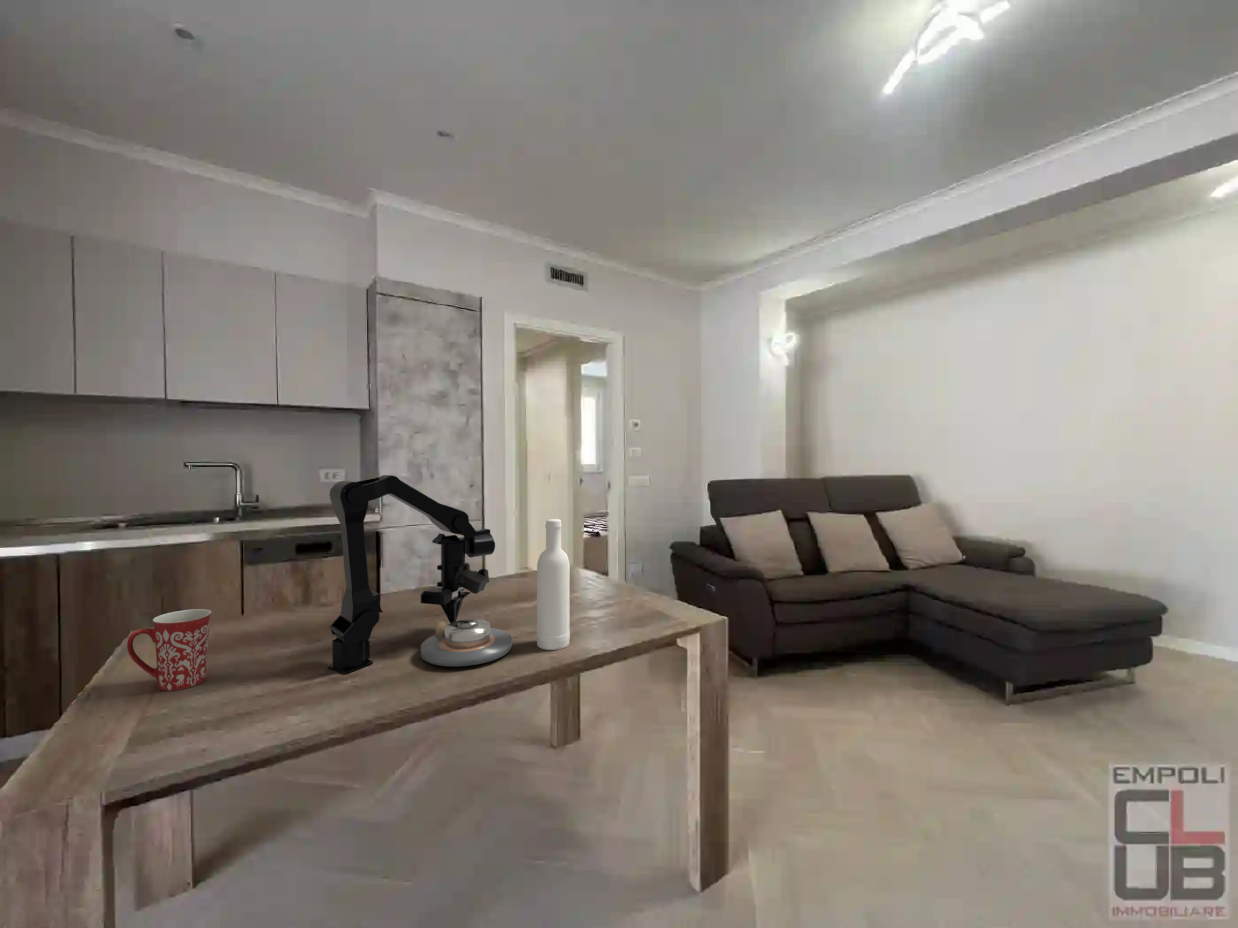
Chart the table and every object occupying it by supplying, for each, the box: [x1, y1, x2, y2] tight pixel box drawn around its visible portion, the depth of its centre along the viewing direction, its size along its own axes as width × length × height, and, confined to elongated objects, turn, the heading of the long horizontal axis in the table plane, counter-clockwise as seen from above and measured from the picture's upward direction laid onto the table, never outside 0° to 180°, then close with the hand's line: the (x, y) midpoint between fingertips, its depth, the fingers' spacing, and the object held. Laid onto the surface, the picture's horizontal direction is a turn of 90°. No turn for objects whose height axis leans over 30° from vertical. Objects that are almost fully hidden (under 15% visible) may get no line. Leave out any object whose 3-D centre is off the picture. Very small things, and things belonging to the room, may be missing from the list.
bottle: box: [536, 518, 571, 651], centre depth 125 cm, size 8×8×30 cm
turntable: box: [420, 618, 513, 667], centre depth 120 cm, size 20×20×5 cm
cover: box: [445, 618, 491, 649], centre depth 120 cm, size 10×10×5 cm
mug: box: [126, 608, 212, 692], centre depth 103 cm, size 13×9×14 cm
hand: (453, 623), depth 129 cm, fingers closed
